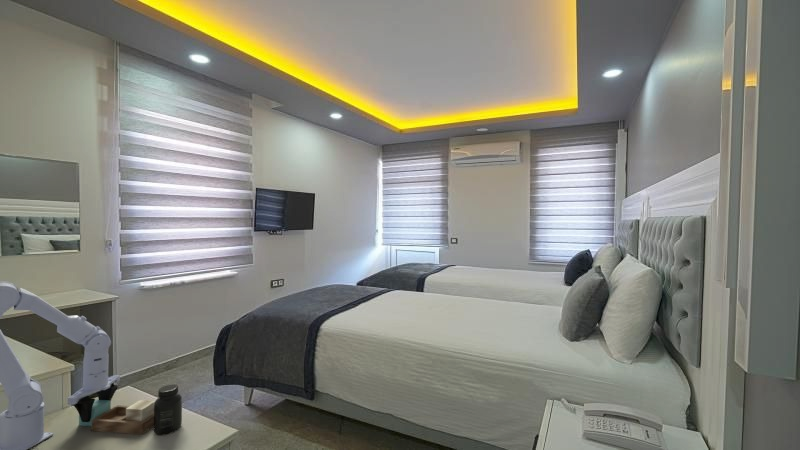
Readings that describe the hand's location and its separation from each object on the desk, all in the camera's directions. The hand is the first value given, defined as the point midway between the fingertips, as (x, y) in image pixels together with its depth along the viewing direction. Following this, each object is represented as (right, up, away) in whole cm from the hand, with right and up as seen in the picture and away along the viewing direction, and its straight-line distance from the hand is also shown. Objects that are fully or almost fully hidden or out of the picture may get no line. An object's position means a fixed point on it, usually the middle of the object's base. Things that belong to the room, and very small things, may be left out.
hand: (95, 416), depth 103 cm
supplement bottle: (+24, -2, -3) cm, 25 cm away
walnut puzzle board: (+11, -2, -1) cm, 12 cm away
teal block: (0, -1, 0) cm, 1 cm away
